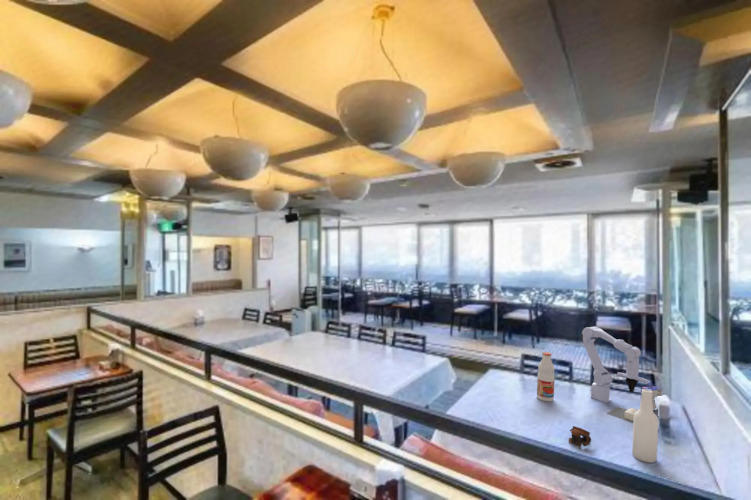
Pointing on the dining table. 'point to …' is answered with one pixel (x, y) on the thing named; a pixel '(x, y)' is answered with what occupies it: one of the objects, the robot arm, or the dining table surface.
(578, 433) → the pottery mug
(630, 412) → the sign slab
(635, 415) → the alcohol
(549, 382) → the fruit juice
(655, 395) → the ink cartridge box
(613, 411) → the mat
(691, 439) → the dining table surface
